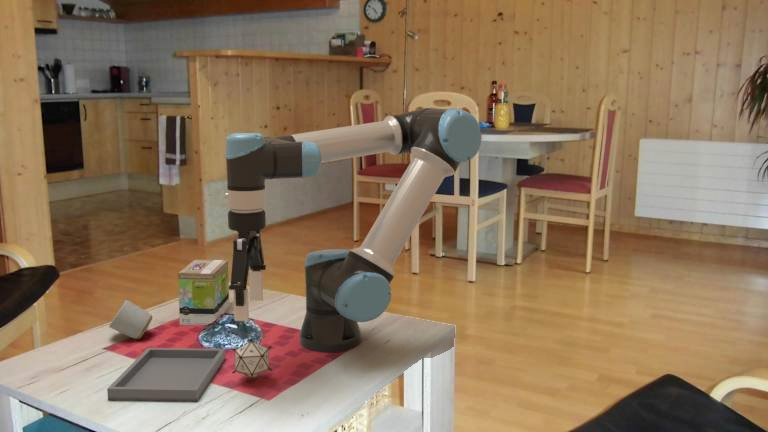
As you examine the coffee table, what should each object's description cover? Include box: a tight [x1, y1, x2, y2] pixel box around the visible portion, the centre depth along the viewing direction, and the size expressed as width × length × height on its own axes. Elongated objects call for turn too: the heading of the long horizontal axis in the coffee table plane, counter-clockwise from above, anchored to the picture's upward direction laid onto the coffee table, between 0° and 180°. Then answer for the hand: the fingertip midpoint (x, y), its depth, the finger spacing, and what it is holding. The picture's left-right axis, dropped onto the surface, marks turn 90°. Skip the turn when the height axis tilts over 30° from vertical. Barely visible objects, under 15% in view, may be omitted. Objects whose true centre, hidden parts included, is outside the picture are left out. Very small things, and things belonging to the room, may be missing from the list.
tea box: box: [177, 259, 230, 326], centre depth 187 cm, size 15×10×15 cm
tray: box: [106, 347, 226, 403], centre depth 148 cm, size 18×22×2 cm
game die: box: [231, 337, 273, 382], centre depth 146 cm, size 9×8×10 cm
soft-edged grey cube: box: [108, 299, 153, 340], centre depth 173 cm, size 11×8×8 cm
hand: (249, 309), depth 144 cm, fingers open, 13 cm apart
